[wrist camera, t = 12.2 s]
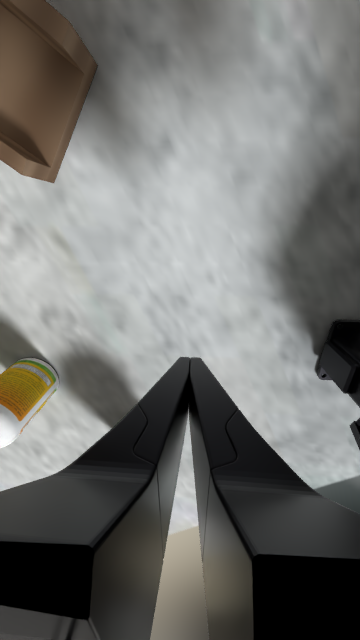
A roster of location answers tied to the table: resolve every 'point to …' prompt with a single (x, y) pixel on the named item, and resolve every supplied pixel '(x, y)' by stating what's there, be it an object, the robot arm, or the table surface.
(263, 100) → the table surface
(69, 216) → the table surface
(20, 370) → the supplement bottle
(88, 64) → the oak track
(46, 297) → the table surface
